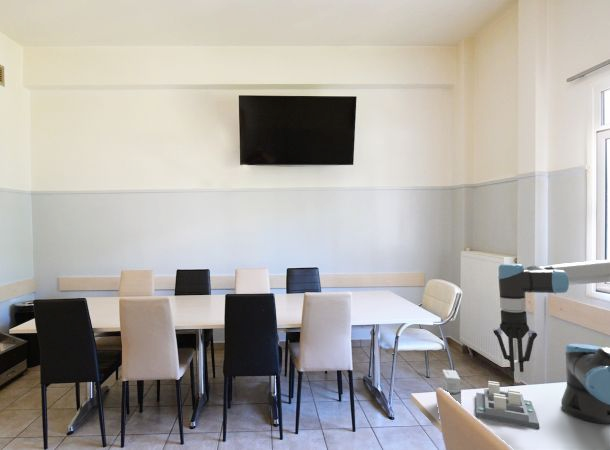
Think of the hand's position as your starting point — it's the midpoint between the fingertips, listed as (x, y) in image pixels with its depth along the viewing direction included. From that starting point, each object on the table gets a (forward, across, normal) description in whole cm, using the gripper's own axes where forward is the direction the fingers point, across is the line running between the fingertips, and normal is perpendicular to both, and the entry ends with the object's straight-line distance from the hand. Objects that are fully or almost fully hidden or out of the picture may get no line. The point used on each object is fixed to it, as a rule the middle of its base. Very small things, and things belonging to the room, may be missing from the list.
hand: (517, 381), depth 119 cm
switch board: (+13, +4, -5) cm, 14 cm away
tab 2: (+11, +6, 0) cm, 12 cm away
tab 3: (+11, +1, -5) cm, 13 cm away
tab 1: (+11, +7, -11) cm, 17 cm away
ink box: (+13, +21, -1) cm, 25 cm away
